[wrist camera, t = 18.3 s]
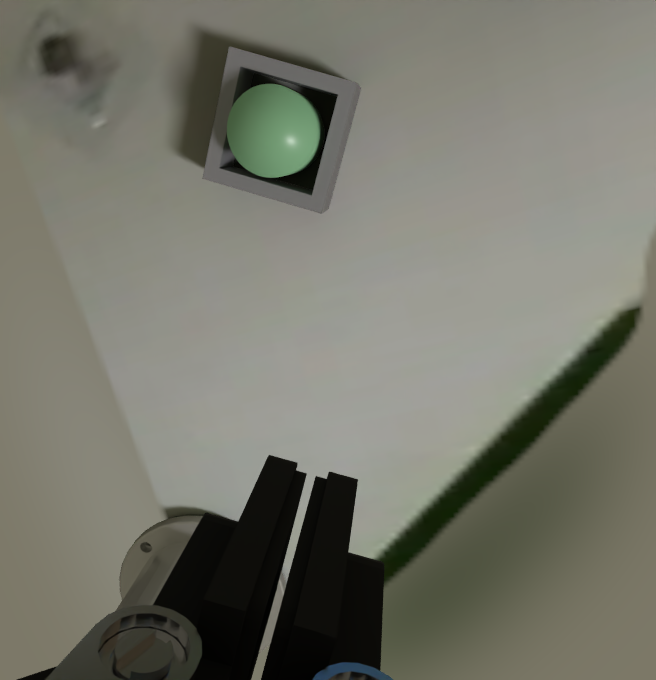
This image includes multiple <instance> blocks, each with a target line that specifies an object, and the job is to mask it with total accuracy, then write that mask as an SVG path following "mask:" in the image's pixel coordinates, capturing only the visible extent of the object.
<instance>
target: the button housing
mask: <svg viewBox="0 0 656 680" xmlns="http://www.w3.org/2000/svg"><path fill="white" fill-rule="evenodd" d="M254 73H257V74H260V75H264V76H267V77H271V78H274V79H278V80H281V81H285V82H288V83H291V84H295V85H298V86H302V87H305V88H309V89H312V90H316V91H319V92H323V93H326V94H330V95H333V96H337V100H336V104H335V108H334V112H333V116H332V120H331V124H330V127H329V131H328V135H327V139H326V143H325V147H324V151H323V154H322V158H321V162H320V166H319V170H318V174H317V178H316V181H315V185H314V189H313V190H311V189H308V188H305V187H301V186H298V185H294V184H291V183H288V182H284V181H281V180H277V179H274V178H268V177H262V176H258V175H256V174H253V173H252V172H250V171H247V170H243V169H240V168H237V167H233V166H234V162H235V156H234V155H233V153H232V151H231V149H230V146H229V142H228V138H227V122H228V117H229V113H230V111H231V109H232V107H233V105H234V103H235V102H236V100H237V99H238V98H239V97H240V96H241V95H242V94H243V93H244V92H246V91H247V90H249V89H250V88H251V83H252V78H253V74H254ZM360 90H361V87H360V86H359V85H358V83H356V82H352V81H349V80H345V79H342V78H338V77H335V76H332V75H328V74H325V73H321V72H318V71H314V70H311V69H307V68H304V67H300V66H297V65H293V64H290V63H286V62H283V61H279V60H276V59H272V58H269V57H265V56H262V55H258V54H255V53H251V52H248V51H244V50H241V49H237V48H234V47H230V46H229V49H228V54H227V59H226V64H225V69H224V74H223V79H222V84H221V89H220V94H219V99H218V104H217V109H216V114H215V119H214V124H213V129H212V134H211V139H210V144H209V149H208V154H207V159H206V163H205V168H204V173H203V178H202V179H206V180H209V181H213V182H216V183H219V184H223V185H226V186H229V187H233V188H236V189H240V190H243V191H246V192H250V193H253V194H257V195H260V196H263V197H267V198H270V199H274V200H277V201H280V202H284V203H287V204H290V205H294V206H297V207H301V208H304V209H307V210H311V211H314V212H318V213H321V214H322V213H324V212H325V211H326V210H327V209H329V205H330V201H331V198H332V194H333V190H334V187H335V183H336V179H337V176H338V172H339V168H340V164H341V161H342V157H343V153H344V150H345V146H346V142H347V138H348V135H349V131H350V127H351V124H352V120H353V116H354V113H355V109H356V105H357V101H358V98H359V94H360Z"/></svg>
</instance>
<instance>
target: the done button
mask: <svg viewBox="0 0 656 680" xmlns="http://www.w3.org/2000/svg"><path fill="white" fill-rule="evenodd" d="M324 135H325V132H324V124H323V120H322V117H321V115H320V112H319V111H318V109H317V108H316V106H315V105H314V104H313V103H312V102H311V101H310V100H309V99H308V98H306V97H305V96H303V95H301V94H300V93H297V92H295V91H293V90H291V89H289V88H287V87H284V86H282V85H277V84H262V85H258V86H255V87H252V88H250V89H249V90H247V91H246V92H244V93H243V94H242V95H241V96H240V97H239V98H238V99H237V100H236V102H235V103H234V105H233V107H232V109H231V111H230V113H229V117H228V122H227V138H228V142H229V146H230V149H231V151H232V153H233V155H234V156H235V158H236V159H237V161H238V162H239V163H240V164H241V165H242V166H243V167H244V168H245V169H247V170H248V171H250V172H252V173H253V174H256V175H258V176H262V177H268V178H276V177H282V176H286V175H290V174H295V173H298V172H301V171H302V170H304V169H306V168H307V167H309V166H310V165H311V164H312V163H313V162H314V161H315V160H316V159H317V157H318V155H319V154H320V152H321V149H322V146H323V143H324Z"/></svg>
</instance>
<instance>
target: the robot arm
mask: <svg viewBox="0 0 656 680" xmlns="http://www.w3.org/2000/svg"><path fill="white" fill-rule="evenodd" d="M296 468H297V463H296V462H293V461H289V460H285V459H282V458H278V457H274V456H271V455H269V456H268V458H267V460H266V462H265V464H264V467H263V469H262V471H261V473H260V475H259V478H258V480H257V482H256V484H255V486H254V489H253V491H252V493H251V495H250V497H249V500H248V502H247V504H246V506H245V508H244V511H243V513H242V515H241V517H240V519H239V522H238V521H234V520H230V519H227V518H223V517H220V516H216V515H213V514H209V513H205V514H204V515H203V516H187V515H186V516H180V517H174V518H170V519H167V520H164V521H162V522H159V523H157V524H155V525H154V526H152V527H150V528H149V529H147V530H146V531H145V532H144V533H143V534H142V535H141V536H140V537H139V538H138V539H137V540H136V541H135V542H134V544H133V545H132V547H131V548H130V550H129V551H128V552H127V555H126V557H125V559H124V561H123V563H122V567H121V572H120V592H121V596H122V602H121V604H120V605H119V607H118V608H117V610H116V611H115V612H113V613H111V614H108V615H107V616H106V617H105V618H104V619H102V620H101V621H100V622H99V623H97V624H96V625H95V626H94V627H93V628H92V629H91V630H90V631H89V632H88V634H87V635H86V636H85V637H84V638H83V639H82V640H81V641H80V642H79V643H78V644H77V646H76V647H75V648H74V649H73V650H72V651H71V652H70V653H69V654H68V655H67V656H66V657H65V659H64V660H63V661H62V662H61V663H60V664H59V665H58V666H57V667H54V668H51V669H48V670H45V671H41V672H38V673H35V674H32V675H29V676H26V677H24V678H21V679H17V680H251V678H252V674H253V671H254V667H255V664H256V660H257V657H258V654H259V653H260V652H261V651H263V650H264V649H265V648H266V647H267V646H269V645H270V648H269V652H268V655H267V659H266V663H265V666H264V671H263V674H262V678H261V680H393V679H392V678H391V677H390V676H388V675H386V674H384V673H383V672H381V671H380V662H381V638H382V636H381V635H382V610H383V587H384V563H383V562H381V561H377V560H374V559H370V558H366V557H363V556H359V555H356V554H352V553H349V552H348V549H349V542H350V535H351V527H352V520H353V512H354V505H355V497H356V490H357V482H358V479H354V478H351V477H347V476H344V475H340V474H336V473H333V472H329V474H328V477H327V479H325V478H321V477H317V476H316V477H315V481H314V485H313V488H312V492H311V496H310V499H309V503H308V507H307V511H306V514H305V518H304V522H303V525H302V529H301V533H300V536H299V540H298V544H297V547H296V551H295V555H294V558H293V562H292V566H291V569H290V573H289V577H288V581H287V584H286V581H285V578H284V576H283V573H282V567H283V563H284V559H285V555H286V551H287V548H288V544H289V540H290V536H291V532H292V528H293V525H294V521H295V517H296V513H297V509H298V505H299V501H300V498H301V494H302V490H303V486H304V482H305V478H306V473H303V472H299V471H296Z"/></svg>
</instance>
